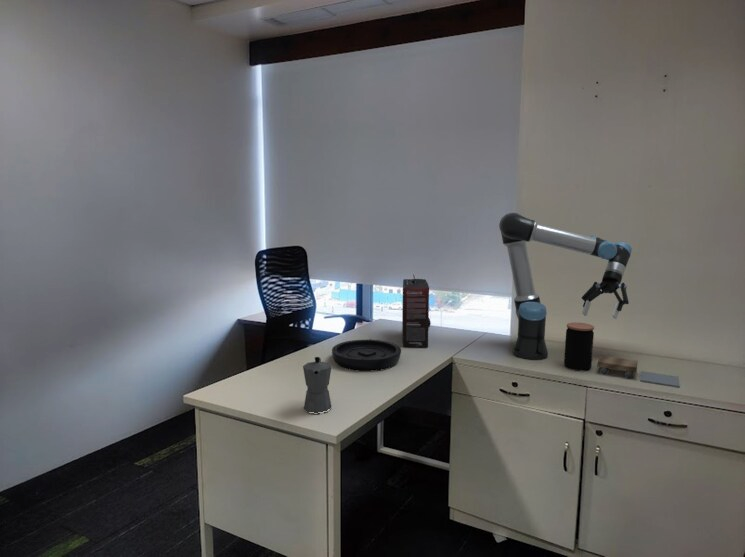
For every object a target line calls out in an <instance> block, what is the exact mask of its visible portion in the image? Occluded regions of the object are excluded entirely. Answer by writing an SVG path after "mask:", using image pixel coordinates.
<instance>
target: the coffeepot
mask: <svg viewBox="0 0 745 557" xmlns="http://www.w3.org/2000/svg"><path fill="white" fill-rule="evenodd" d="M302 369H303V375H304V380H305V386H306V387H307V388H306V389H307V390H306V392H305V398H304V406H303V409H304V411H305V410H306V411H307V412H314V413H318V412H323V411H327V410H328V409H330V408H331V407H333V406H332V401H331V396H330V391H329V389H328V386H329V384H330V379H331V373H332V364H330V363H329V362H327V361H322V360H321V357H320V356H315V357H314V361H311V362H306V364H304V365H302ZM331 409H332V408H331ZM331 409H330V410H331ZM306 411H305V412H306ZM307 412H306V413H307Z"/></svg>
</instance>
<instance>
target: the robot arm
mask: <svg viewBox="0 0 745 557" xmlns="http://www.w3.org/2000/svg"><path fill="white" fill-rule="evenodd" d="M498 226H499V231H500V234H501V240H502V244H503V245H504V246H506V248H507V253H508V258H509V265H510V269H511V272H512V273H511V275H512V279H513V283H514V289H515V294H516V295H515V297H514V298H513V299H514V300H513V301H514V306H515V314H516V315H515V316H516V317H517V321H518V322H517V323H518V324H517V338H516V340H515V343H514V345H513V347H512V354H513V355H514V356H515V357H518V358H521V359H525V360H526V359H527V360H534V361H535V360H536V361H537V360H544V359H547V358H548V355H549V351H548V348H547V345H546V344H547V343H546V338H545V337H546V335H545V334H546V319H547V318H546V317H547V313H548V312H547V307H546V306H545V305H544V304H543V303H541V298H540V295H539V294H538V293H536V290H535V285H534V278H533V274H532V268H531V263H530V260H529V259H530V258H529V254H528V246H527V242H529V243H530V242H532V241H534V242H538V243H541V244H544V245H545V244H546V245H550V246H554V247H557V248H561V249H566V250H571V251H573V252H578V253H581V254H585V255H589V256H592V257H593V256H594V257H597V258H600V259H602V260H606V261H608V262H607V265H606V268H605V270H604V273H603V276H602V279H601V282H597V281H594V282H593V284H592V286H590V288H589V289H588V290H587V291H586V292H585V293H584V294H583V295H582V297H581V299H582V300H583V305H582V308H583V309H582V311H581V314H582V315H584V317H587V315H588V313H589V311H590V307H591V303H592V301H594V300H595V299H596V298H597V297H599V296H600V295H603V294H614V297H615V298H616V299H617V301H616V303H615V306H614V309H613V311H612V314H611V316H612V318H613V319H615V320H617V318H618V317H619V312H621V311H622V309H623V307H624V305H629V304H630V302H629V298H628V294H627V288H628V287H627V285H626V283H624V282H622V280H623V277H624V274H625V271H626V269H627V265H628V262H629V261H630V258H631V255H632V250H633V248H632V246H631V245H630V244H629V243H627V242H622V241H618V242H616V243H613V241H609V240H605V239H604V238H600V237H598V236H596V235H585V234H581V233H577V232H572V231H569V230H564V229H561V228H557V227H553V226H549V225H544V224H541V223H538V222H537V220H534V219H530V218H528V217H526V216H523V215H521V214H520V213H517V212H510V213H506V214H504V215H503V217H501V218H500V220H499V224H498ZM619 289H620V291H621V295H622V297H621V296H620V295H619V292H618V290H619Z"/></svg>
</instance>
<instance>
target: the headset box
mask: <svg viewBox="0 0 745 557" xmlns="http://www.w3.org/2000/svg"><path fill="white" fill-rule="evenodd" d="M412 276H413V278H410V279H408V278H407V279H406V278H403V282H402V309H401V310H402V320H401V321H402V322H401V323H402V329H401V330H402V332H401V333H402V346H403V348H428V347H429V328H428V321H429V319H430V317H429V314H430V313H429V312H430V308H429V307H430V286H429V283H428V281H427V279H425V278H424V279H423V278H416V277H415V275H414V274H413V275H412Z"/></svg>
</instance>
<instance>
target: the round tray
mask: <svg viewBox="0 0 745 557" xmlns="http://www.w3.org/2000/svg"><path fill="white" fill-rule="evenodd" d="M401 353H402V348H401V347H400V346H399V345H397V344H395V343H393V342H390V341H385V340H381V339H354V340H346V341H344V342H340V343H337V344H335V345H334V346H333V347H332V349H331V354H332V355H331V356H332V357H333V358H332V359H333V360H334V362H335V363H336V365H337V366H338V367H341V368H342V369H345V368H346V369H347V370H349V369H350V371H355V370H359V372H372V371H371V370H378V371H382V370H381V369H384V370H387V369H386V368H388V369H390V368H393V367H394V366H396V365H397V364H398V362H399V360H400V359H401ZM392 366H393V367H392ZM389 367H390V368H389Z"/></svg>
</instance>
